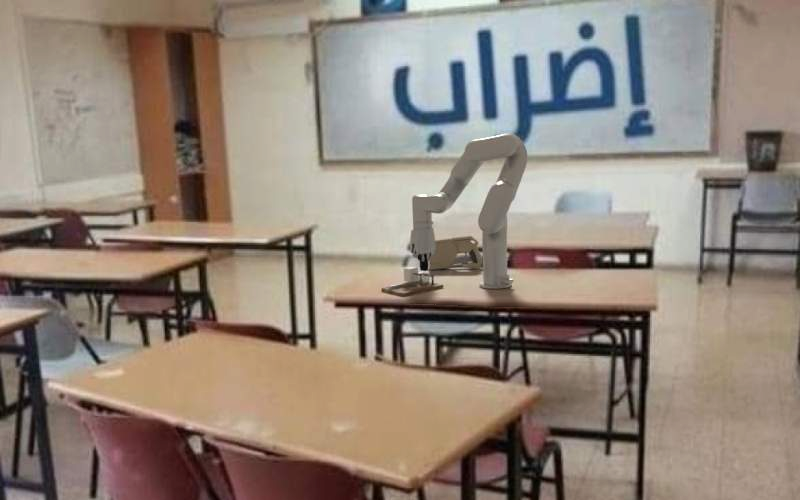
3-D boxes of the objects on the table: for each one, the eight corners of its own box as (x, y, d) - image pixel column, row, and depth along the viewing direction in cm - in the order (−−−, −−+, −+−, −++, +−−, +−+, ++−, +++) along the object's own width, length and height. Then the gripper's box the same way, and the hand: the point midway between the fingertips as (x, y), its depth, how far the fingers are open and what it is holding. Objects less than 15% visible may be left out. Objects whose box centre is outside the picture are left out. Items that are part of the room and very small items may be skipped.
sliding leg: (425, 284, 314) (425, 269, 313) (417, 286, 312) (417, 270, 311) (412, 281, 321) (411, 266, 320) (404, 283, 318) (403, 268, 317)
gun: (483, 267, 352) (479, 234, 349) (483, 269, 349) (479, 235, 346) (428, 273, 355) (424, 240, 352) (428, 275, 351) (423, 241, 349)
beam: (436, 283, 318) (436, 274, 317) (399, 291, 306) (399, 282, 306) (423, 280, 324) (423, 271, 324) (386, 288, 313) (386, 279, 312)
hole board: (443, 287, 315) (443, 284, 315) (403, 296, 303) (403, 293, 303) (420, 282, 326) (420, 279, 326) (381, 291, 314) (381, 287, 314)
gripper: (430, 222, 326) (432, 266, 329) (402, 226, 317) (403, 272, 320) (442, 224, 320) (444, 268, 323) (413, 228, 311) (415, 274, 314)
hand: (424, 270), depth 321 cm, fingers closed
